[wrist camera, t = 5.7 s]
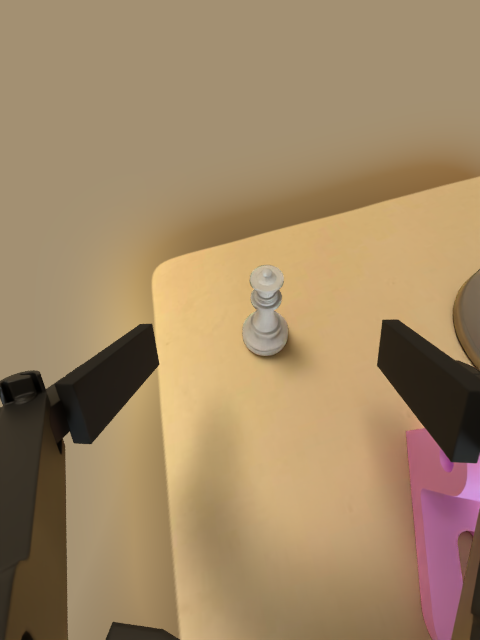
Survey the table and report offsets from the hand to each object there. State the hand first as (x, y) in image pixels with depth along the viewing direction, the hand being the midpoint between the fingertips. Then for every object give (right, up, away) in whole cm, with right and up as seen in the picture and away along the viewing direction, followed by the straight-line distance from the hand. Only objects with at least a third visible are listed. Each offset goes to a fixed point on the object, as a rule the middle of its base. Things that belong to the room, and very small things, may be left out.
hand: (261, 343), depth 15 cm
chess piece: (+1, 0, +11) cm, 11 cm away
